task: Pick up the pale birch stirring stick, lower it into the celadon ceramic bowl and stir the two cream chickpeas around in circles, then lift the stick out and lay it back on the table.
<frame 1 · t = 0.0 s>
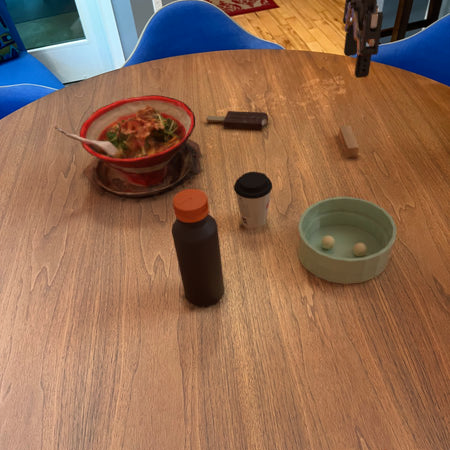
hand: (355, 65, 83), 22 cm above the table, tool pointing down, fingers open, 8 cm apart
coffee cup: (254, 223, 93), on the table
chickpea a: (327, 247, 86), resting on bowl
stew: (142, 175, 105), on the table
bottle: (204, 293, 82), on the table
chickpea b: (358, 254, 84), resting on bowl
bowl: (342, 252, 86), on the table
ice cream bar: (236, 123, 117), on the table
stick: (347, 145, 107), on the table
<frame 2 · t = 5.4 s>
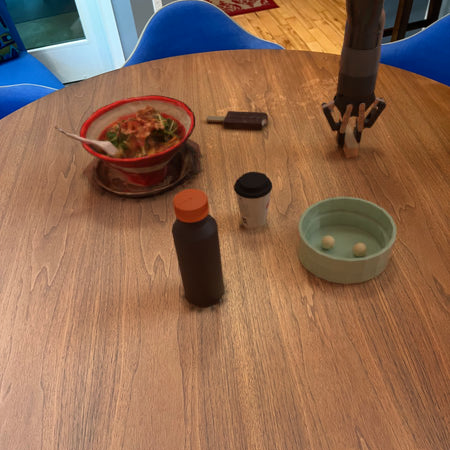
hand: (347, 144, 107), 0 cm above the table, tool pointing down, fingers closed on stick, 2 cm apart
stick: (347, 145, 107), on the table, touching gripper
everything else where it was.
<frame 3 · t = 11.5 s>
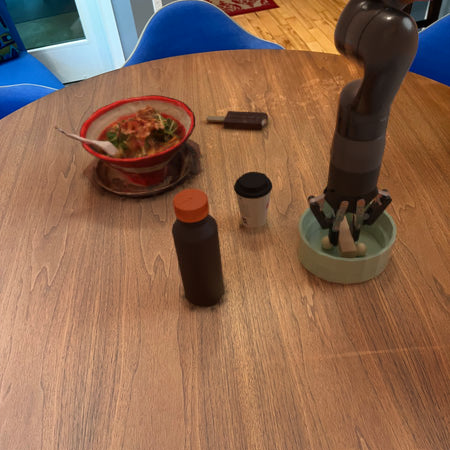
hand: (342, 242, 84), 3 cm above the table, tool pointing down, fingers closed on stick, 2 cm apart
chickpea a: (327, 247, 86), resting on bowl, touching gripper
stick: (342, 243, 84), point 2 cm above the table, touching gripper
everything else where it was.
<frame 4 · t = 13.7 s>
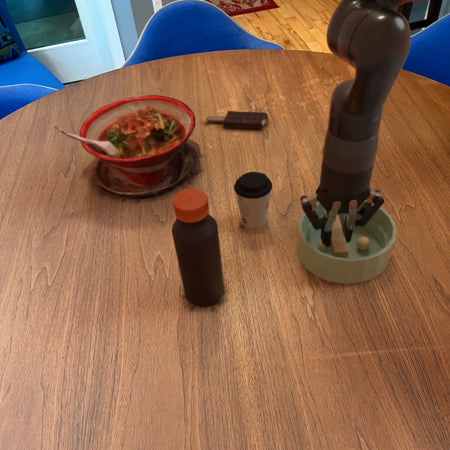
hand: (335, 242, 83), 3 cm above the table, tool pointing down, fingers closed on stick, 2 cm apart
chickpea a: (327, 246, 86), point 1 cm above the table, tilted 50°, touching bowl, gripper, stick
chickpea b: (360, 247, 84), point 2 cm above the table, tilted 84°, touching bowl
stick: (334, 242, 83), point 3 cm above the table, touching chickpea a, gripper
everything else where it was.
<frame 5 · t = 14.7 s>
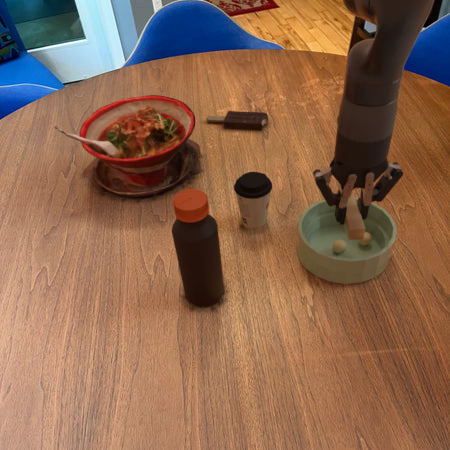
hand: (350, 220, 79), 8 cm above the table, tool pointing down, fingers closed on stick, 2 cm apart
chickpea a: (334, 245, 85), point 1 cm above the table, tilted 68°, touching bowl
chickpea b: (362, 237, 84), point 3 cm above the table, tilted 140°, touching bowl
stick: (349, 220, 79), point 8 cm above the table, touching gripper
everything else where it was.
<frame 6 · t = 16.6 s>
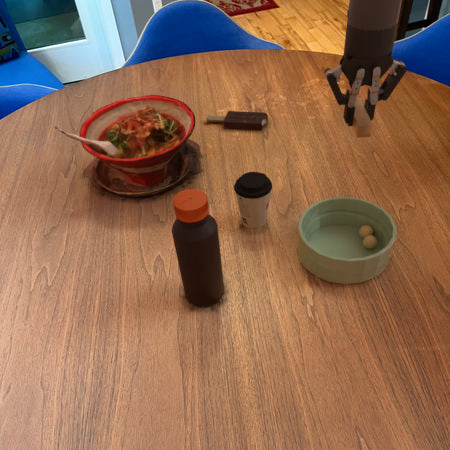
hand: (357, 122, 86), 15 cm above the table, tool pointing down, fingers closed on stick, 2 cm apart
chickpea a: (370, 240, 86), point 1 cm above the table, tilted 60°, touching bowl
chickpea b: (365, 225, 86), point 2 cm above the table, tilted 125°, touching bowl
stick: (357, 123, 86), point 15 cm above the table, touching gripper
everything else where it was.
when the fingers open (0 cm above the table, at t = 21.3 s): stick stays where it is, on the table.
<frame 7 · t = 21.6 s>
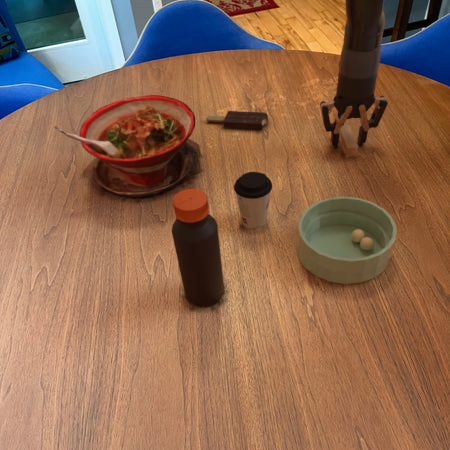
hand: (347, 144, 107), 0 cm above the table, tool pointing down, fingers open, 5 cm apart
chickpea a: (369, 239, 85), point 2 cm above the table, tilted 91°, touching bowl
chickpea b: (352, 233, 86), point 2 cm above the table, tilted 113°, touching bowl
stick: (347, 145, 107), on the table
everything else where it was.
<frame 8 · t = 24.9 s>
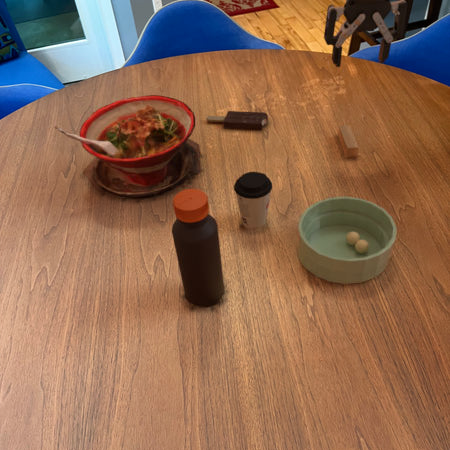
hand: (359, 63, 93), 18 cm above the table, tool pointing down, fingers open, 8 cm apart
chickpea a: (362, 239, 84), point 3 cm above the table, tilted 134°, touching bowl
chickpea b: (346, 238, 86), point 1 cm above the table, tilted 73°, touching bowl
everything else where it was.
at the end: chickpea a moved 6.2 cm from its start; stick touching table; the gripper is holding nothing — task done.
